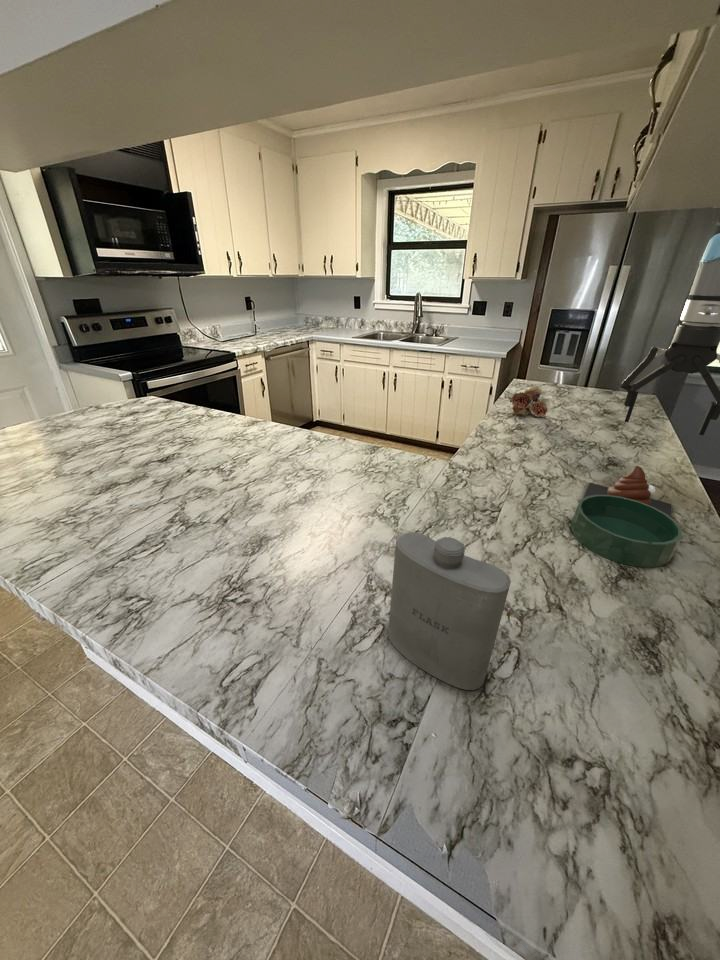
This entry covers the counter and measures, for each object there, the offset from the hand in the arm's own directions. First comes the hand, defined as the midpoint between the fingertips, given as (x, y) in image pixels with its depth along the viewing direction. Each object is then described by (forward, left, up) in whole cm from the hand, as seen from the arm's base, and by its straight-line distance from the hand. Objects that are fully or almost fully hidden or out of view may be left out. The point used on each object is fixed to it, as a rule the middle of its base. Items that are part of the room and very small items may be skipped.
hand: (662, 426), depth 88 cm
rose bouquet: (+40, -55, -20) cm, 71 cm away
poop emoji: (+1, +1, -20) cm, 20 cm away
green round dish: (+1, +19, -20) cm, 27 cm away
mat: (+1, +1, -20) cm, 20 cm away
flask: (+20, +69, -20) cm, 75 cm away
